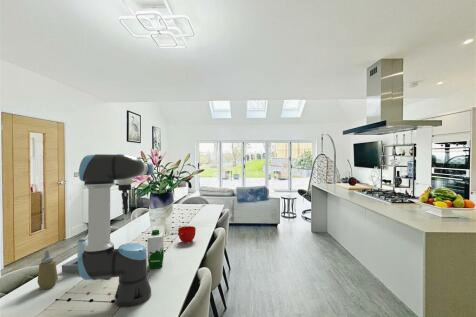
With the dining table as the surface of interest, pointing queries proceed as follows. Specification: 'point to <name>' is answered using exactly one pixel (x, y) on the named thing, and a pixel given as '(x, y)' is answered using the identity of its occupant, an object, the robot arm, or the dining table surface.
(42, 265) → the squeeze bottle
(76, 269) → the housing
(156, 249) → the milk carton
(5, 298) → the dining table surface
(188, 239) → the ceramic cup
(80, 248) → the cartridge
